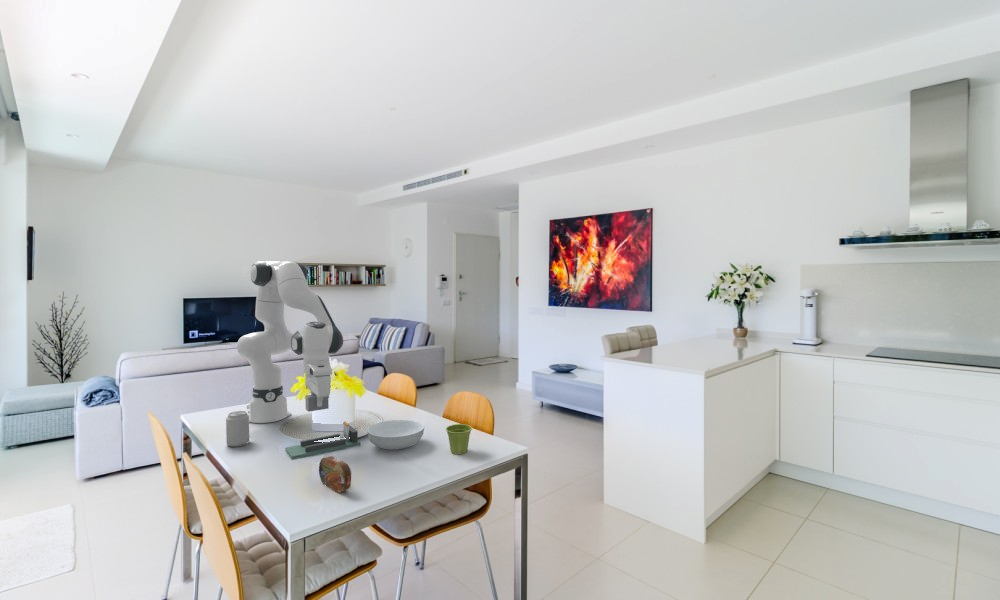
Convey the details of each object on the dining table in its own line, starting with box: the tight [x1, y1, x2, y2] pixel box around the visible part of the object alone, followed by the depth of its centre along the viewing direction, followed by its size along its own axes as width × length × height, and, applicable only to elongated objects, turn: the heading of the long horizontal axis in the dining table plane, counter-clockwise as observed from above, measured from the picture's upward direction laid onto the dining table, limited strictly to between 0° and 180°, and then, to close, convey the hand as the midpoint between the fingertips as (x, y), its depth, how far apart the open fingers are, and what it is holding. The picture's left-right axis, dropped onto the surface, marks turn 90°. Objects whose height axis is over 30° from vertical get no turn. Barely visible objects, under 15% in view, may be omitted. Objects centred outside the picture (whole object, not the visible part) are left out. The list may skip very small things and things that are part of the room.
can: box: [225, 410, 250, 448], centre depth 173 cm, size 8×8×12 cm
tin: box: [318, 455, 352, 494], centre depth 138 cm, size 15×3×8 cm, turn 48°
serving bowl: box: [366, 419, 425, 451], centre depth 173 cm, size 21×21×7 cm
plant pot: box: [445, 423, 473, 455], centre depth 167 cm, size 9×9×9 cm
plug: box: [304, 394, 330, 413], centre depth 169 cm, size 4×7×5 cm, turn 126°
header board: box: [284, 421, 361, 460], centre depth 170 cm, size 10×24×8 cm, turn 126°
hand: (317, 404), depth 168 cm, fingers closed on plug, 4 cm apart
